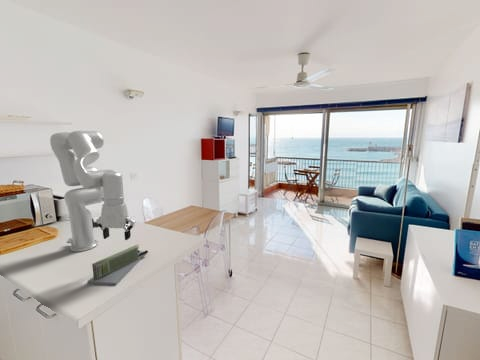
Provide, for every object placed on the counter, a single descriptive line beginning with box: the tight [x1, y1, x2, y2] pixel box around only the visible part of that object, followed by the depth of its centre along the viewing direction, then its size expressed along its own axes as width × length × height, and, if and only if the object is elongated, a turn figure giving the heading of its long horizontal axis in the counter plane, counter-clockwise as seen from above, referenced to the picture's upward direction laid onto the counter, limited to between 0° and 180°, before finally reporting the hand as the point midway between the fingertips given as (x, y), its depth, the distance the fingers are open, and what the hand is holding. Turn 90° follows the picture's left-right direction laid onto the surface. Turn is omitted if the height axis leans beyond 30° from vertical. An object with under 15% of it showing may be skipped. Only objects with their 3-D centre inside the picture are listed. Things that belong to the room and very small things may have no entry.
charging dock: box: [86, 250, 148, 286], centre depth 106 cm, size 12×26×1 cm, turn 176°
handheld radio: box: [91, 244, 149, 280], centre depth 105 cm, size 7×3×25 cm
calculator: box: [92, 216, 101, 228], centre depth 161 cm, size 11×4×15 cm
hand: (117, 238), depth 104 cm, fingers open, 9 cm apart
